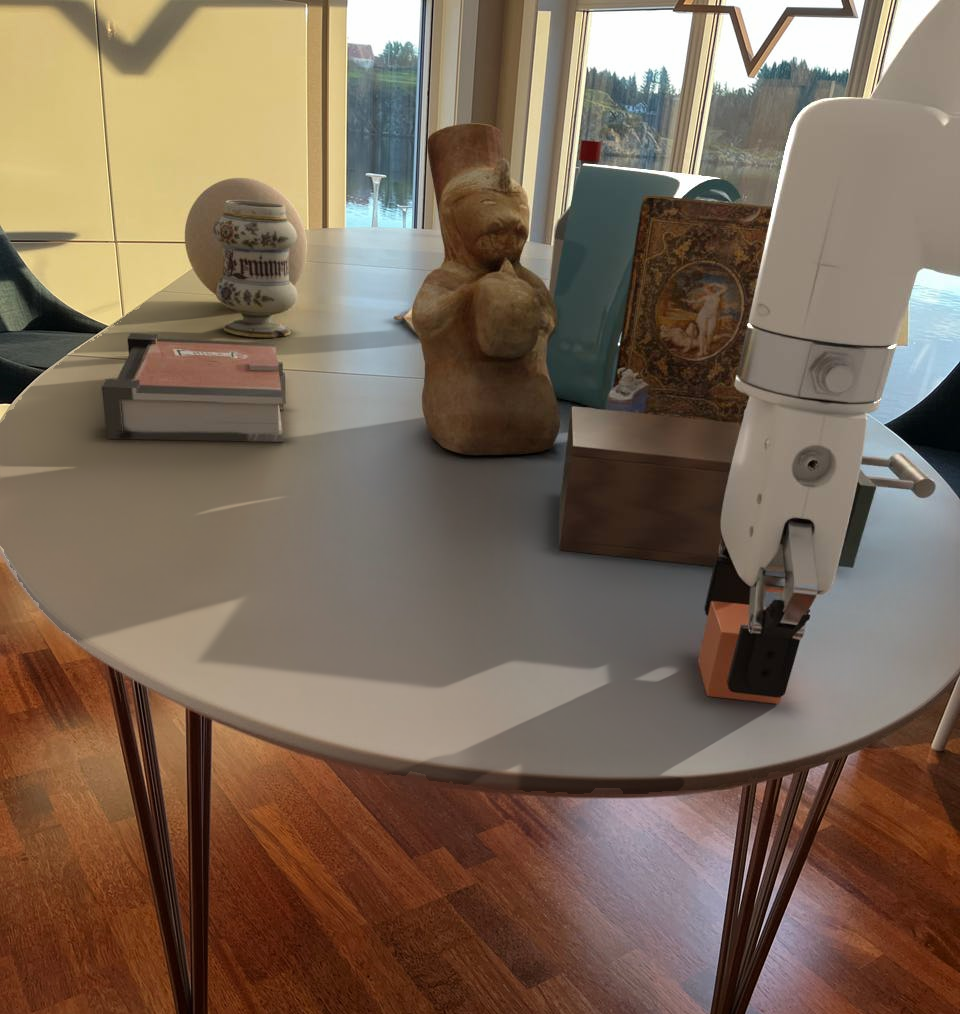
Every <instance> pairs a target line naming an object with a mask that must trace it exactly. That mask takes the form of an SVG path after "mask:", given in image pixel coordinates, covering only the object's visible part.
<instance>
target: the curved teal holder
mask: <svg viewBox="0 0 960 1014" xmlns="http://www.w3.org/2000/svg"><path fill="white" fill-rule="evenodd" d="M648 195H654V196H665V197H675V198H686V199H697V198H704V199H709V200H714V201H720V202H728V203H735V202H736V201H737V200H739V199H741V198H742V196H741V194H740V191H739V190H738V189H737V188H736V187H735V186H734V184H732V183H731V182H730V181H728V180H726V179H724V178H719V177H713V176H705V175H704V176H702V175H695V174H688V173H687V174H686V173H680V172H679V173H678V172H669V171H659V170H651V169H642V168H641V169H640V168H632V167H620V166H612V165H602V164H598V165H593V164H583V165H582V167H581V169H580V172H579V171H578V175H577V177H576V182H575V184H574V188H573V193H572V197H571V200H570V201H571V202H570V205H571V206H570V205H569V207H570V210H569V215H568V220H567V225H566V230H565V235H564V241H563V246H562V252H561V257H560V263H559V269H558V275H557V281H556V287H555V293H554V300H553V302H554V304H555V307H556V310H557V316H558V323H557V328H556V330H555V332H554V333H553V335H552V336H551V337H550V339H549V341H548V344H547V352H546V366H547V370H548V374H549V378H550V381H551V384H552V387H553V390H554V393H555V396H556V399H561V400H565V401H569V402H573V403H576V404H580V405H584V406H586V407H588V408H594V409H604V410H606V403H607V397H608V394H609V392H610V391H611V390H612V388H613V385H614V379H615V372H616V366H617V359H618V353H619V346H620V340H621V333H622V327H623V320H624V313H625V307H626V300H627V294H628V287H629V281H630V274H631V268H632V261H633V255H634V248H635V242H636V235H637V229H638V222H639V216H640V210H641V205H642V201H643V199H644V198H645V197H646V196H648Z"/></svg>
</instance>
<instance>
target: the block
mask: <svg viewBox="0 0 960 1014" xmlns="http://www.w3.org/2000/svg"><path fill="white" fill-rule="evenodd" d="M767 607H768V606H764V610H765V609H766V608H767ZM748 617H749V605H746V604H736V603H727V602H718V601H711V604H710V608H709V613H708V616H707V618H706V621H705V627H704V632H703V636H702V641H701V646H700V650H699V654H698V660H697V663H698V666H699V670H700V674H701V678H702V682H703V685H704V689H705V693H706V696H707V697H711V698H720V699H721V698H722V699H730V700H739V701H749V702H757V703H765V704H767V703H768V704H774V705H775V704H776V705H779V704H780V703H781V699H782V697H778V698H776V697H768V696H760V695H752V694H743V693H735V692H731V691H730V690H729V688H728V685H727V679H728V675H729V671H730V667H731V663H732V659H733V655H734V651H735V647H736V643H737V639H738V635H739V631H740V627H741V625H748Z"/></svg>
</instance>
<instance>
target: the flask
mask: <svg viewBox="0 0 960 1014" xmlns="http://www.w3.org/2000/svg"><path fill="white" fill-rule="evenodd" d="M625 369H626V368H620V369H618V370H617V371H618V372H617V374H619V372H621V371H623V370H625ZM638 374H639V373H638V372H637V373H635V374H633V372H632V370H631V369H628V370H626V371H624V372H622V378H621V379H620V381H619V385H617V386H615V387H614V388H612V390H611V391H610V392H609V394H608V397H607V403H606V410H614V411H624V412H634V413H644V410H645V404H646V398H647V394H648V388H649V384H647V383H645V382H643V379H639V380H637V379H634V378H635V377H636V376H637V375H638Z"/></svg>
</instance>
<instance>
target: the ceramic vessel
mask: <svg viewBox="0 0 960 1014" xmlns="http://www.w3.org/2000/svg"><path fill="white" fill-rule="evenodd" d="M426 143H427V155H428V161H429V168H430V173H431V178H432V183H433V184H432V185H433V189H434V195H435V201H436V202H435V203H436V208H437V215H438V222H439V228H440V233H441V234H440V235H441V239H442V243H443V248H444V258H443V262H442V263H441V265H440V266H439V267H437V268H435V269H433V270H432V271H430V272H429V273H428V274H427V275H426V277H425V278H424V280H423V282H422V284H421V286H420V288H419V290H418V291H417V293H416V295H415V298H414V301H413V304H412V306H411V308H412V324H413V327H414V329H415V331H416V333H417V334H416V333H415V334H416V335H417V337H418V339H419V341H420V346H421V351H422V356H423V362H424V377H423V378H424V380H423V388H422V391H421V407H422V413H423V418H424V421H425V424H426V429H427V431H428V434H429V436H430V437H431V439H433V440H434V441H435V442H436V443H437V444H439V445H440V447H441V448H444V449H446V450H449V451H451V452H454V453H456V454H457V453H458V454H462V455H466V456H468V455H469V456H506V455H507V456H508V455H527V454H537V453H543V452H545V451H547V450H551V449H552V448H553V445H554V444H555V442H556V440H557V438H558V435H559V431H560V427H561V418H560V417H561V415H560V408H559V405H558V400H557V398H556V396H555V393H554V390H553V387H552V384H551V381H550V378H549V374H548V370H547V366H546V352H547V344H548V341H549V339H550V337H551V336H552V335H553V333H554V332H555V330H556V328H557V323H558V316H557V310H556V307H555V304H554V302H553V299H552V297H551V295H550V293H549V291H548V286H547V285H546V284H545V282H544V280H542V279H541V278H540V276H539V275H537V274H536V273H535V272H533V271H531V270H530V269H529V268H527V267H525V266H523V265H522V263H521V262H520V261H521V257H522V253H523V250H524V247H525V245H526V243H527V241H528V239H529V235H530V216H531V215H530V214H531V211H530V206H529V202H528V201H529V200H528V195H527V192H526V191H525V189H524V188H523V187H522V186H521V185H520V183H519V182H517V181H516V180H515V179H514V178H513V177H512V174H511V168H510V163H509V161H508V160H507V159H506V158H505V151H504V141H503V137H502V132H501V130H500V129H499V128H498V127H495V126H494V125H490V124H486V123H475V122H467V123H459V124H454V125H450V126H449V125H448V126H446V127H443V128H440V129H439V130H436V131H434V132H432V133H431V134H430V135H429V136H428V137H427V141H426Z"/></svg>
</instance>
